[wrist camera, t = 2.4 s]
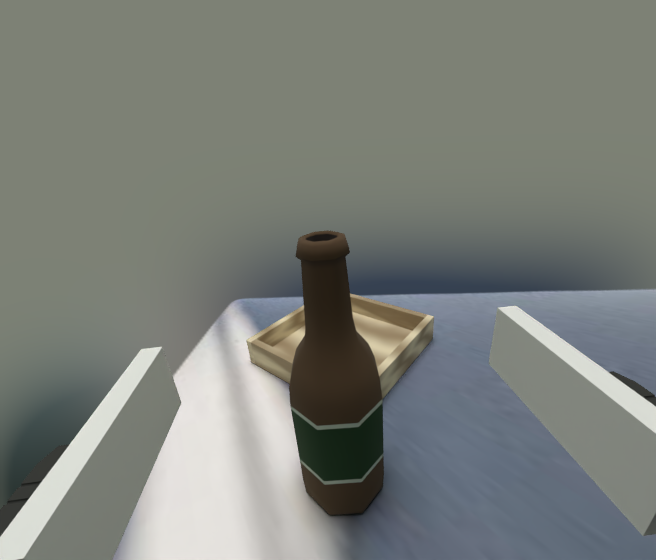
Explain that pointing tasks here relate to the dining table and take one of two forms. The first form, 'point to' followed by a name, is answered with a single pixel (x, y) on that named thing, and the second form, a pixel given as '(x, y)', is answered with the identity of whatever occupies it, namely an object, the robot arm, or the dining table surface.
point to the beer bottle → (335, 386)
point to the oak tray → (370, 322)
